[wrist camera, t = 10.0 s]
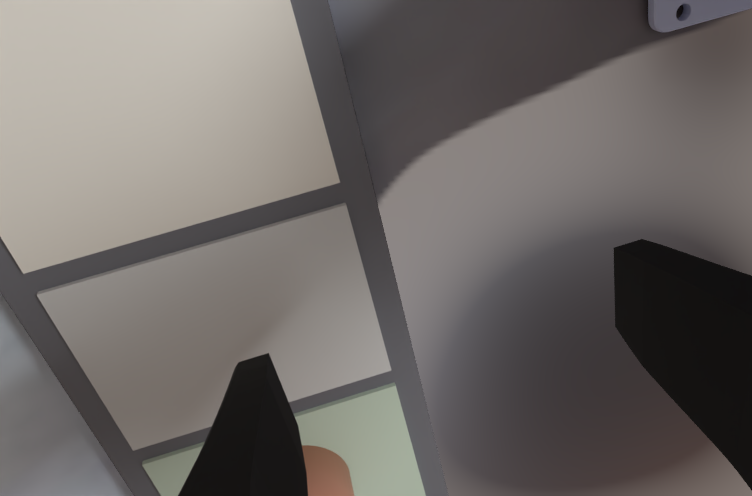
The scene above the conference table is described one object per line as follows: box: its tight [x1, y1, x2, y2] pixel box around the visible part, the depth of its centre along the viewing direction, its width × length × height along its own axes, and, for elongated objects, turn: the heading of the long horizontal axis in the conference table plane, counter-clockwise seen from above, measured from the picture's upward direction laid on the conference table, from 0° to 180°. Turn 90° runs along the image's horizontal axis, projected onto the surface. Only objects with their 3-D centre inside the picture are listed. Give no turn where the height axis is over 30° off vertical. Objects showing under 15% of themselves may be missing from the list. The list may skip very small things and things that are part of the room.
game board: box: [0, 0, 448, 496], centre depth 19 cm, size 12×33×1 cm, turn 13°
